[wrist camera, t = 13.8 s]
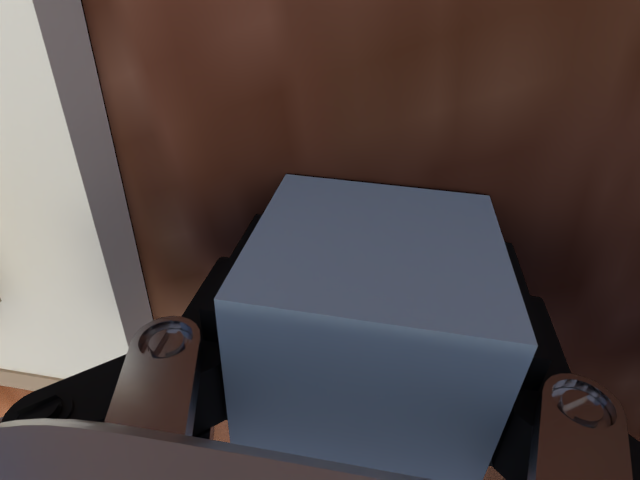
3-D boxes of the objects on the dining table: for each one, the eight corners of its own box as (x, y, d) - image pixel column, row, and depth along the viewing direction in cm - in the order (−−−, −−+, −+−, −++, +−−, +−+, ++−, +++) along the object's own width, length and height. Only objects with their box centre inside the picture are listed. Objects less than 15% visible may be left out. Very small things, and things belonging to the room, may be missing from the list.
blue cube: (489, 195, 11) (538, 345, 7) (449, 345, 14) (466, 518, 9) (286, 174, 11) (213, 299, 7) (286, 321, 14) (234, 474, 10)
